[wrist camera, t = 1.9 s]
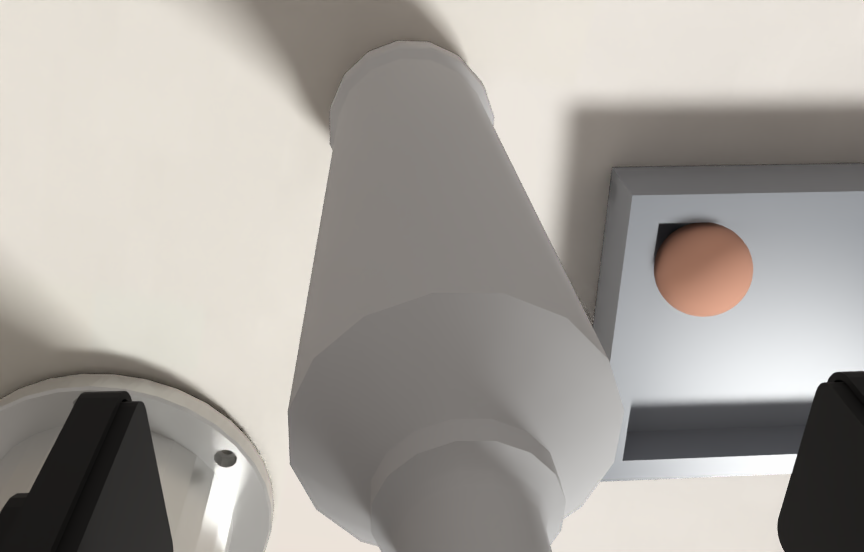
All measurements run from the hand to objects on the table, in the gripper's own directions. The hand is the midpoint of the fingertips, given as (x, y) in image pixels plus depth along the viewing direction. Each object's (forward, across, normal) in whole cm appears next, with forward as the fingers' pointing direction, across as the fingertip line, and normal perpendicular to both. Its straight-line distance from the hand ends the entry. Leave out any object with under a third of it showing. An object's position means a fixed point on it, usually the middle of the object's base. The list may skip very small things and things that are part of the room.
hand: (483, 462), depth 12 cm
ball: (+17, -9, +5) cm, 20 cm away
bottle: (+18, 0, +1) cm, 18 cm away
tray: (+18, -14, +9) cm, 24 cm away
